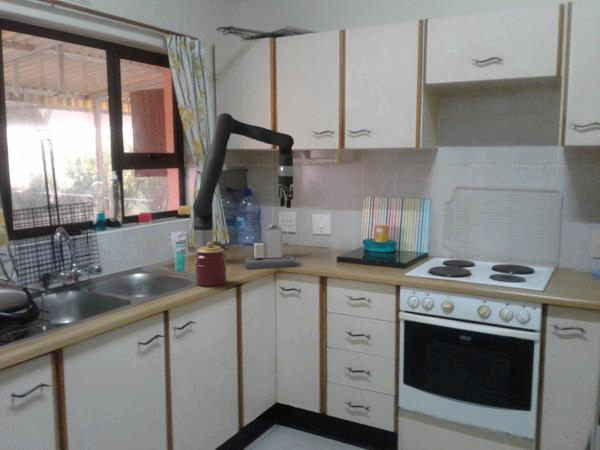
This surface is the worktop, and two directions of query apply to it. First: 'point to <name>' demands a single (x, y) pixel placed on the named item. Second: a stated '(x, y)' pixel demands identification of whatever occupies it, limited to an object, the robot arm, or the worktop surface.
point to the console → (269, 262)
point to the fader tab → (259, 251)
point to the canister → (210, 266)
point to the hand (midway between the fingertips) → (285, 207)
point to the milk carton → (274, 241)
